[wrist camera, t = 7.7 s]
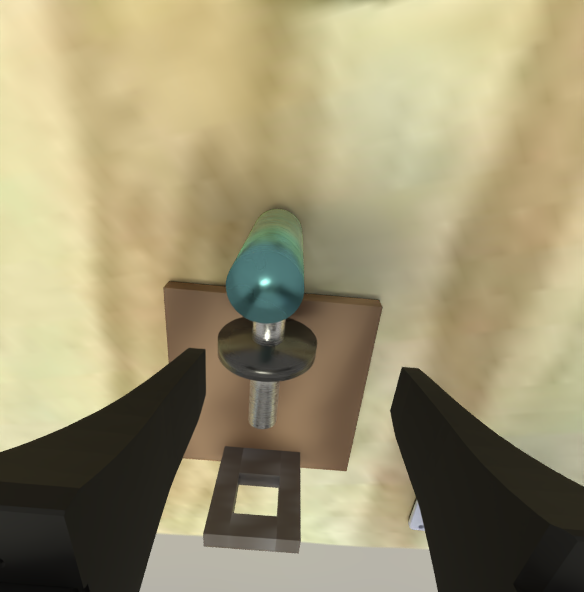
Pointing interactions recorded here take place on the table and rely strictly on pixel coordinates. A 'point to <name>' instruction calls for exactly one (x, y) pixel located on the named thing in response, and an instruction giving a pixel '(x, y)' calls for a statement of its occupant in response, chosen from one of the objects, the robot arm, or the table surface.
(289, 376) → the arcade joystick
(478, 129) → the table surface
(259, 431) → the eye stand
